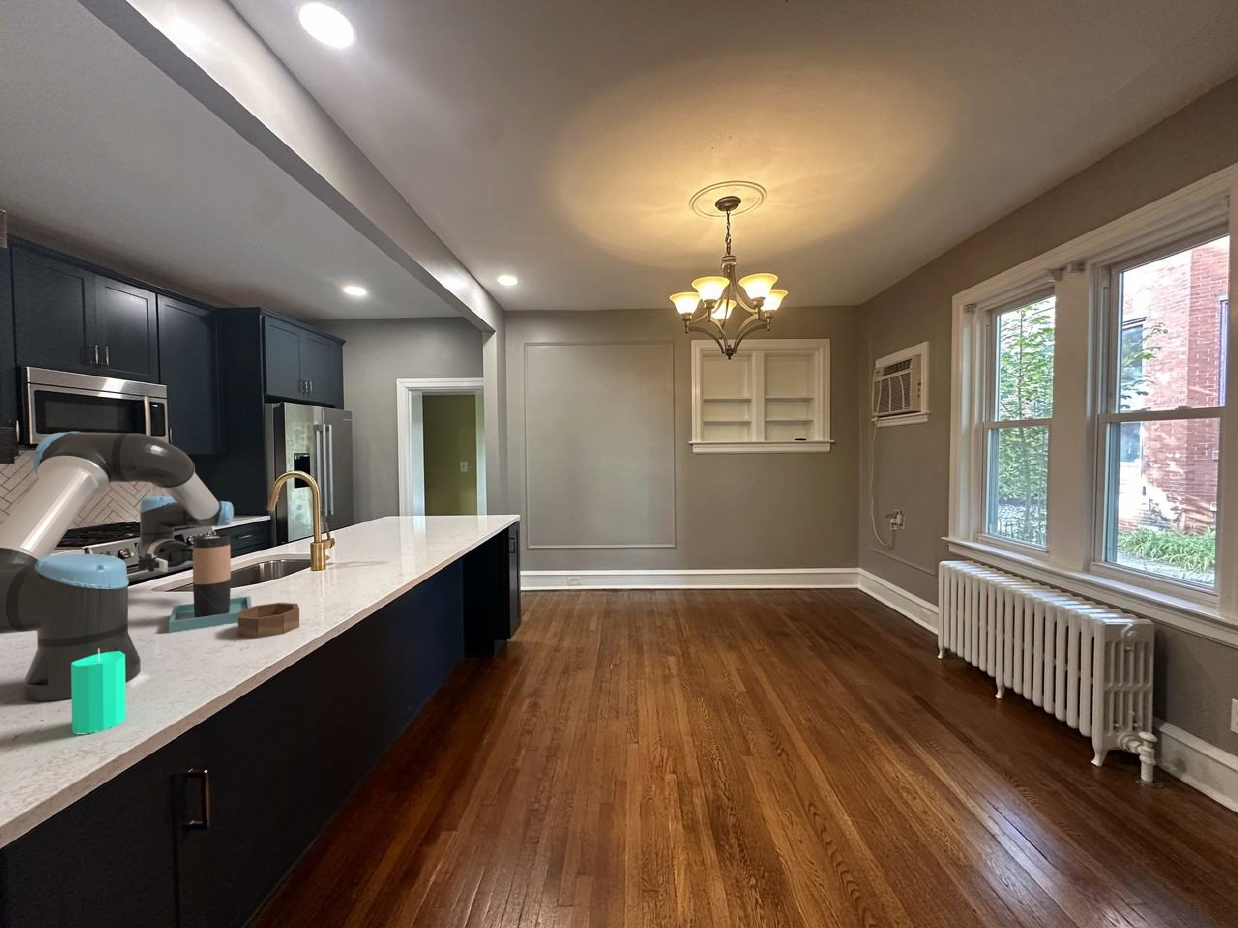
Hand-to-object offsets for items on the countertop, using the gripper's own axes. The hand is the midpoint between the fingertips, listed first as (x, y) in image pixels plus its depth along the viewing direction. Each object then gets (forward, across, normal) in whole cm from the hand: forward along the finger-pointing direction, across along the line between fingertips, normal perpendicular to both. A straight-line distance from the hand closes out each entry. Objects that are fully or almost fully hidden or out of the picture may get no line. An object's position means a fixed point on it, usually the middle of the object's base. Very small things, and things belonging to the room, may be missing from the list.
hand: (198, 562), depth 138 cm
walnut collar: (+30, -4, -13) cm, 33 cm away
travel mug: (+9, 0, -12) cm, 15 cm away
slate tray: (+9, 0, -13) cm, 16 cm away
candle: (+56, +31, -13) cm, 66 cm away
